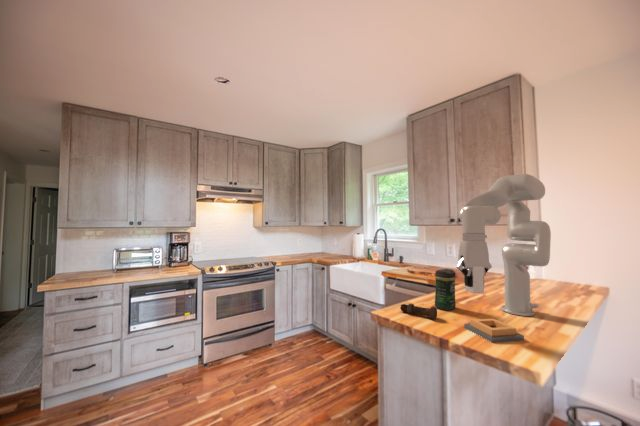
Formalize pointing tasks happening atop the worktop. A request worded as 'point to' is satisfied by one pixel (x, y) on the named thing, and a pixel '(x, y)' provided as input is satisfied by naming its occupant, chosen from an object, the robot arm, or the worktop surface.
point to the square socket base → (494, 330)
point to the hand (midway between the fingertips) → (474, 285)
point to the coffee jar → (445, 289)
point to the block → (476, 280)
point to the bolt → (420, 310)
